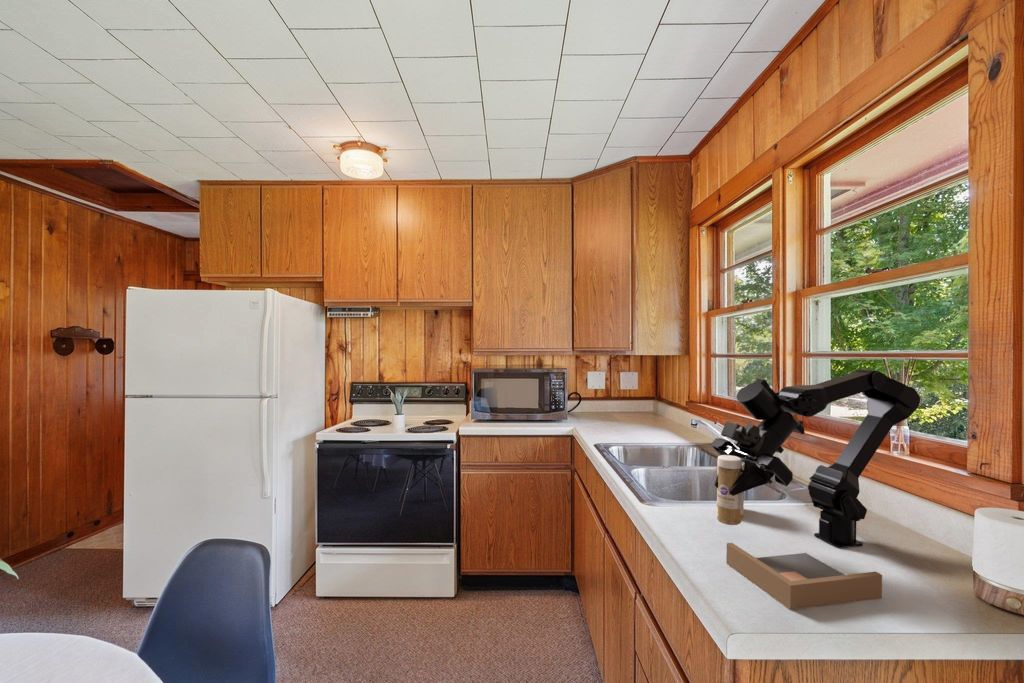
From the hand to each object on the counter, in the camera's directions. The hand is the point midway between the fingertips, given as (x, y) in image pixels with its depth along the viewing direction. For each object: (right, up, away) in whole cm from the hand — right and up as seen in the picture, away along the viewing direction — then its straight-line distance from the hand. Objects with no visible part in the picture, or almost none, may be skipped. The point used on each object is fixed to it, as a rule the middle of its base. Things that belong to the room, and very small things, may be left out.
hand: (723, 490), depth 99 cm
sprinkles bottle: (+1, -7, 0) cm, 7 cm away
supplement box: (+12, -13, +23) cm, 29 cm away
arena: (+10, -13, -10) cm, 19 cm away
